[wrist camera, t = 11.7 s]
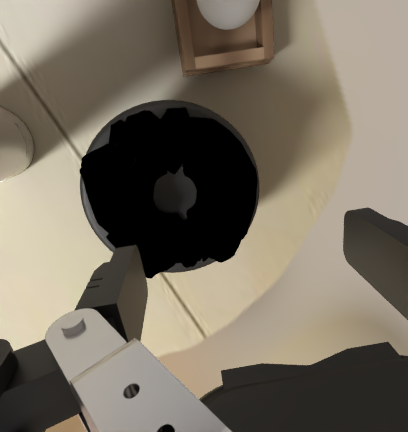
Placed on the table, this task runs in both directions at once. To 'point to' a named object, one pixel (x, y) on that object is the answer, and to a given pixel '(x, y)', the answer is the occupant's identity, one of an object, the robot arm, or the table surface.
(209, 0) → the lightbulb
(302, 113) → the table surface
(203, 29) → the wooden tray
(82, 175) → the coal bowl
